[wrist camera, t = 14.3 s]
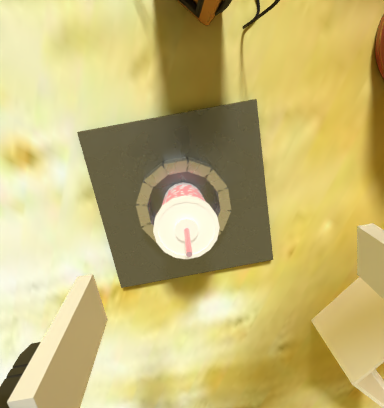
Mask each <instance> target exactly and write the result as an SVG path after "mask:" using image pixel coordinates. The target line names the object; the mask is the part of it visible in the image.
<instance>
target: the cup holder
mask: <svg viewBox="0 0 384 408" xmlns="http://www.w3.org/2000/svg"><path fill="white" fill-rule="evenodd" d="M77 133H78V137H79V140H80V144H81V147H82V151H83V154H84V158H85V161H86V165H87V168H88V172H89V175H90V179H91V182H92V186H93V189H94V193H95V196H96V200H97V203H98V207H99V210H100V214H101V218H102V221H103V225H104V228H105V232H106V235H107V239H108V242H109V246H110V249H111V253H112V256H113V260H114V263H115V267H116V270H117V274H118V277H119V281H120V284H121V288H123V287H128V286H134V285H139V284H145V283H150V282H155V281H161V280H166V279H171V278H177V277H182V276H188V275H193V274H198V273H204V272H209V271H214V270H220V269H225V268H231V267H236V266H241V265H247V264H252V263H258V262H263V261H268V260H273V254H272V244H271V235H270V225H269V216H268V206H267V196H266V187H265V177H264V167H263V158H262V148H261V139H260V129H259V119H258V110H257V100H256V99H254V100H249V101H243V102H238V103H232V104H227V105H221V106H216V107H211V108H205V109H200V110H194V111H189V112H183V113H178V114H173V115H167V116H162V117H156V118H151V119H145V120H140V121H135V122H129V123H124V124H118V125H113V126H107V127H102V128H97V129H91V130H86V131H80V132H77ZM182 182H184V183H190V184H192V185H194V186H195V187H197V188H198V190H199V191H200V193H201V194H202V196H203V198H204V199H205V201H206V202H207V203H208V204H209V205H210V206H211V208H212V209H213V210H214V212H215V213H216V215H217V218H218V222H219V227H220V229H219V233H218V238H217V241H216V242H215V243H214V245H213V246H212V248H211V249H210V250H209V251H207V252H206V253H204V254H203V255H201V256H200V257H196V258H191V259H181V258H175V257H173V256H171V255H169V254H167V253H165V252H164V251H163V250H162V249H161V247H160V246H159V245H158V244H157V243H156V239H155V236H154V232H153V228H154V221H155V217H156V215H157V213H158V211H159V210H160V208H161V206H162V203H163V200H164V197H165V194H166V193H167V191H168V190H169V188H171V187H172V186H173V185H175V184H178V183H182Z"/></svg>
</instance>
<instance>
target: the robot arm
mask: <svg viewBox="0 0 384 408" xmlns="http://www.w3.org/2000/svg"><path fill="white" fill-rule="evenodd" d="M357 275H358V276H359V277H360V278H361V279H362V280H363V281H365V282H366V283H367V284H368V285H369V286H370V287H371V288H372V289H373V290H374V291H375V292H376V293H377V294H378V295H379V296H380V297H381V298H382V299H384V230H383V229H381V228H380V227H378V226H376V225H375V224H373V223H372V224H366V225H361V226H357ZM106 323H107V317H106V314H105V310H104V307H103V304H102V301H101V298H100V295H99V292H98V289H97V285H96V282H95V279H94V276H93V274H91V275H85V276H79V277H77V279H76V280H75V282H74V284H73V286H72V288H71V289H70V291H69V293H68V295H67V296H66V298H65V300H64V302H63V304H62V305H61V307H60V309H59V311H58V312H57V314H56V316H55V318H54V320H53V321H52V323H51V325H50V327H49V328H48V330H47V332H46V334H45V335H44V337H43V339H42V341H41V342H38V343H33V344H31V345H30V346H29V347H28V348H26V349H25V350H24V351H23V352H22V353H21V354H20V356H19V357H18V359H17V360H16V362H15V364H14V365H13V369H11V370H10V372H9V373H8V375H7V379H5V380H4V382H3V383H2V385H1V386H0V408H80V406H81V402H82V399H83V396H84V393H85V390H86V387H87V383H88V380H89V377H90V374H91V371H92V367H93V364H94V361H95V358H96V355H97V352H98V348H99V345H100V342H101V339H102V336H103V333H104V329H105V326H106Z"/></svg>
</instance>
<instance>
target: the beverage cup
mask: <svg viewBox="0 0 384 408" xmlns="http://www.w3.org/2000/svg"><path fill="white" fill-rule="evenodd" d="M219 229H220V227H219V222H218V218H217V215H216V213H215V212H214V210H213V209H212V208H211V206H210V205H209V204H208V203H207V202H206V201H205V199H204V198H203V196H202V194H201V193H200V191H199V190H198V188H197V187H195V186H194V185H192V184H190V183H184V182H182V183H178V184H175V185H173V186H172V187H171V188H169V190H168V191H167V193H166V194H165V197H164V200H163V203H162V206H161V208H160V210H159V211H158V213H157V215H156V217H155V221H154V228H153V232H154V236H155V239H156V243H157V244H158V245H159V246H160V247H161V249H162V250H163V251H164V252H165V253H167V254H169V255H171V256H173V257H175V258H181V259H191V258H196V257H200V256H201V255H203V254H204V253H206V252H207V251H209V250H210V249H211V248H212V246H213V245H214V243H215V242H216V241H217V238H218V233H219Z"/></svg>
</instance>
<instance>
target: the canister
mask: <svg viewBox="0 0 384 408" xmlns="http://www.w3.org/2000/svg"><path fill="white" fill-rule="evenodd" d="M375 53H376V61H377V65H378V68H379V71H380V73H381V75H382V77H383V79H384V15H383V17H382V19H381V22H380V24H379V28H378V31H377V36H376V44H375Z"/></svg>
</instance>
